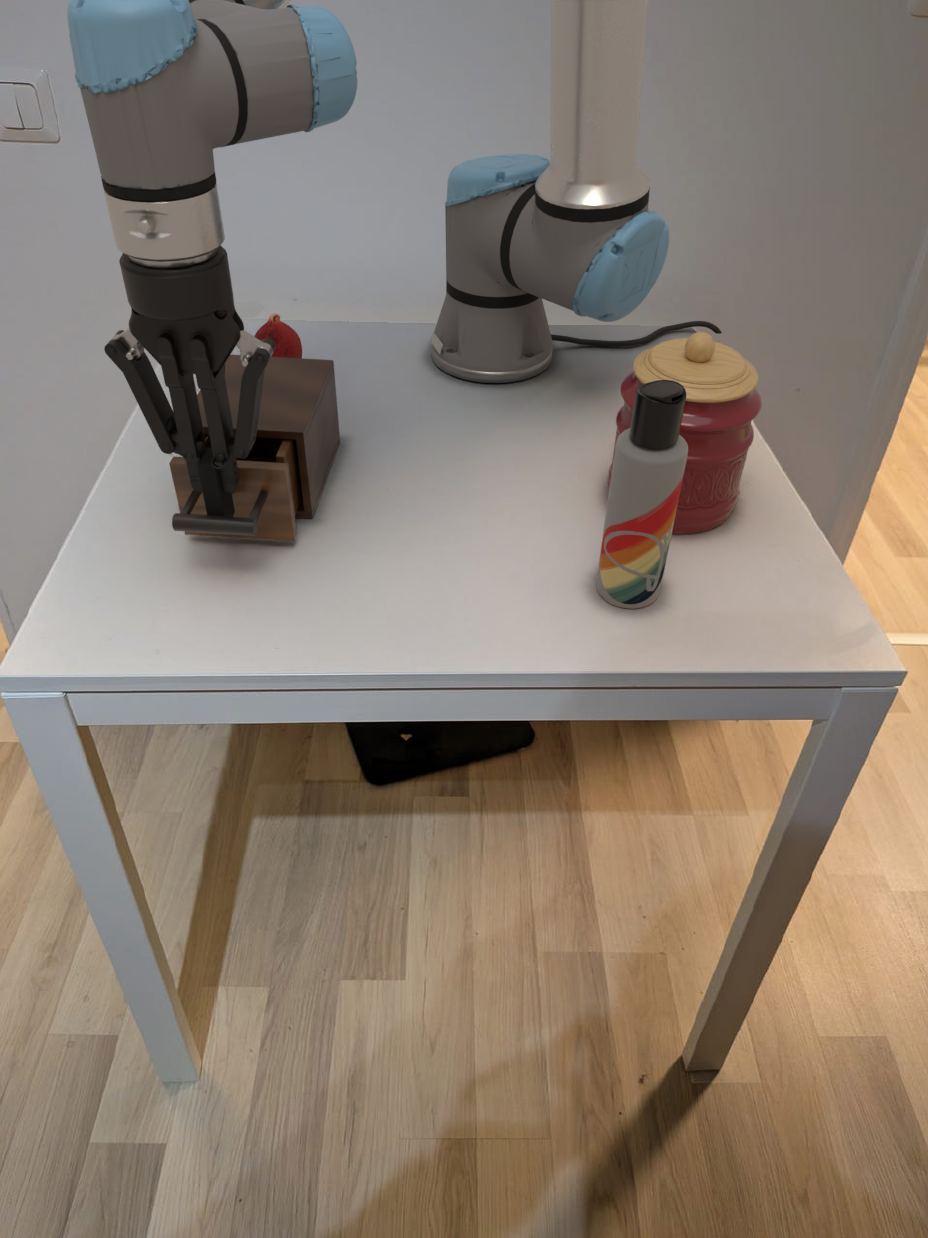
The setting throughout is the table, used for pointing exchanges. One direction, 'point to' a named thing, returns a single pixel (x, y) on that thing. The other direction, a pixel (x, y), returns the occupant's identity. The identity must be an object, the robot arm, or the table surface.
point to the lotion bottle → (643, 497)
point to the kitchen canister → (702, 421)
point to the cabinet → (294, 415)
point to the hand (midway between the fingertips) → (222, 520)
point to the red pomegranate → (281, 338)
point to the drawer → (247, 495)
